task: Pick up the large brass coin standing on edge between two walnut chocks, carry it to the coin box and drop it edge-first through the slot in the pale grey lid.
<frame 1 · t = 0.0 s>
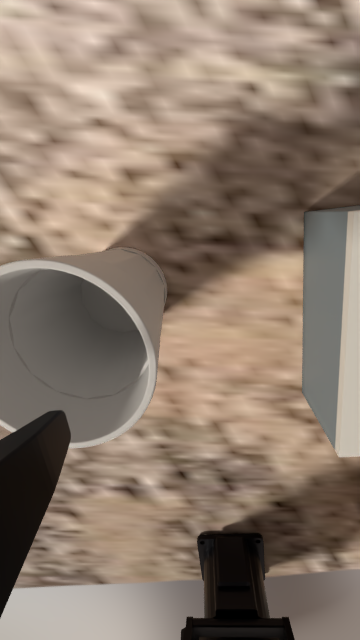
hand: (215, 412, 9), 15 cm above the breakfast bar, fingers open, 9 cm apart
cup: (126, 289, 23), on the breakfast bar
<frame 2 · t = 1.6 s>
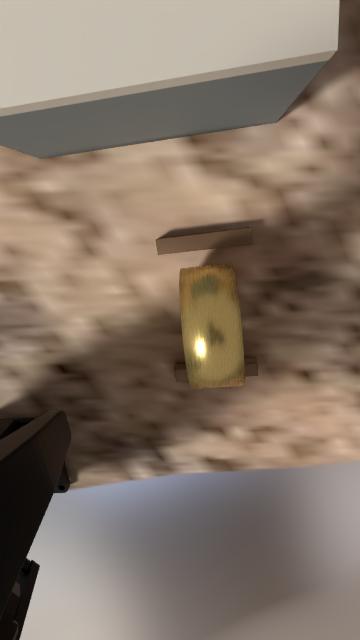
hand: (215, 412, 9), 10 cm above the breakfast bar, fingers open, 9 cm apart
coin: (209, 307, 18), on the breakfast bar
coin stand: (209, 307, 18), on the breakfast bar
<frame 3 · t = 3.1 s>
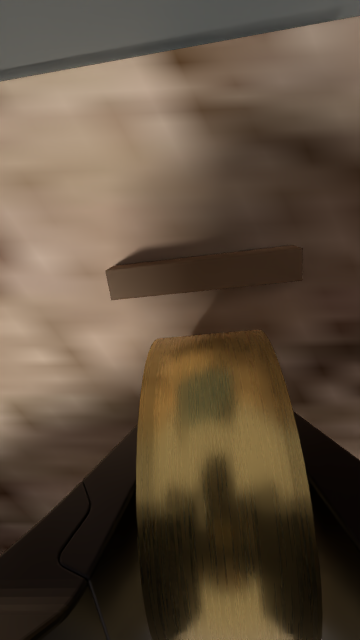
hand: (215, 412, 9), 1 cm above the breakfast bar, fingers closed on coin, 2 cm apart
coin: (213, 389, 10), on the breakfast bar, touching gripper
coin stand: (213, 389, 10), on the breakfast bar
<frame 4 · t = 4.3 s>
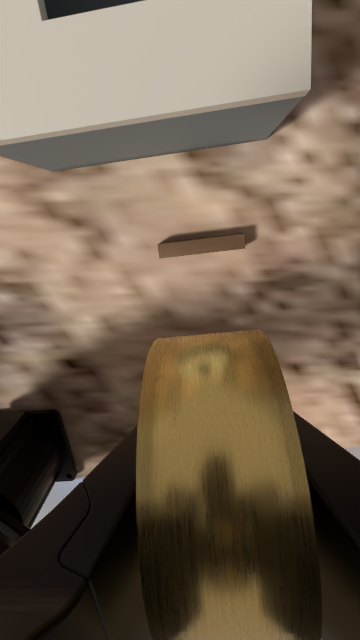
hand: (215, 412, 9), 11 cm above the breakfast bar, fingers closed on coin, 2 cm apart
coin: (213, 388, 10), point 10 cm above the breakfast bar, touching gripper
coin stand: (207, 306, 20), on the breakfast bar
when the fingers open (10 cm above the breakfast bar, at t = 5.6 s): coin drops 8 cm, resting on coin box.
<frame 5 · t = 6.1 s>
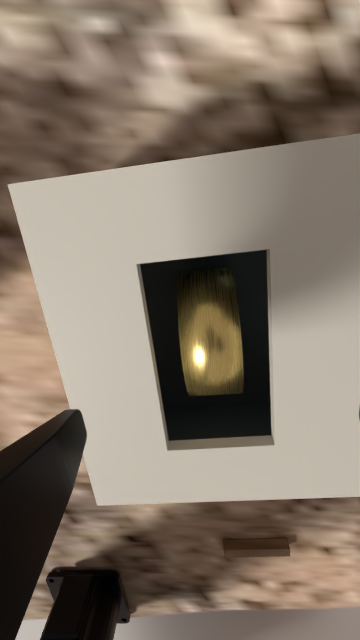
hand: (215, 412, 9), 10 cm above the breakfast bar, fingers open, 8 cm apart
coin: (209, 311, 18), point 1 cm above the breakfast bar, touching coin box
coin box: (207, 308, 18), on the breakfast bar
coin stand: (252, 506, 23), on the breakfast bar
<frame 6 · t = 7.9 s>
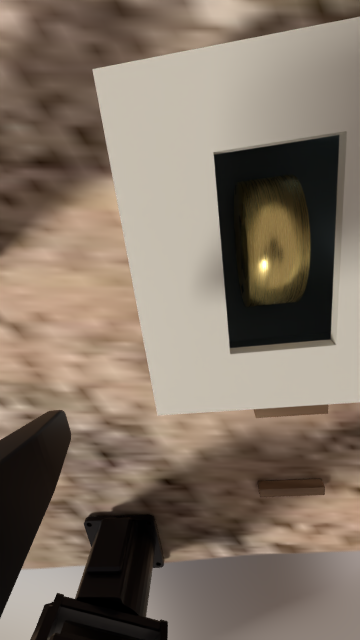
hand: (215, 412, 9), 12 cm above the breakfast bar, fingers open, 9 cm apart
coin: (255, 240, 18), point 1 cm above the breakfast bar, touching coin box
coin box: (252, 239, 18), on the breakfast bar
coin stand: (288, 446, 24), on the breakfast bar
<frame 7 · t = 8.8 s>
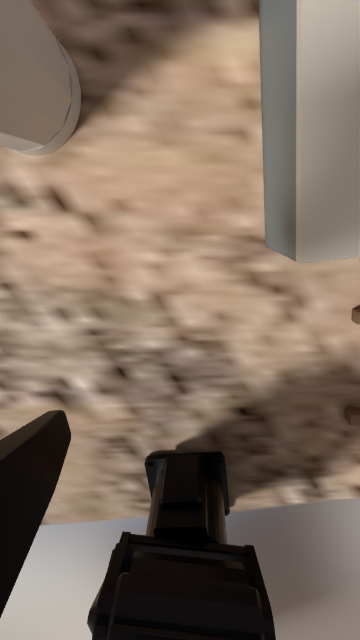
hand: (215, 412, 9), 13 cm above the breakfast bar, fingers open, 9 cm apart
cup: (28, 94, 17), on the breakfast bar
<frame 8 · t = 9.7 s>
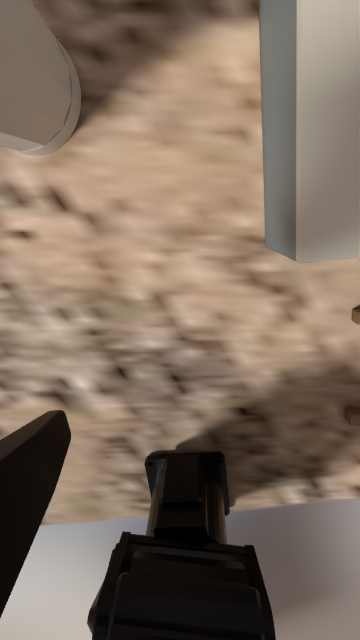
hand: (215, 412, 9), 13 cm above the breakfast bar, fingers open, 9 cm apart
cup: (28, 94, 17), on the breakfast bar
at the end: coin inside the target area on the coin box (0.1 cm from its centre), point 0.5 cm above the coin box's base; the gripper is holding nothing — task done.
